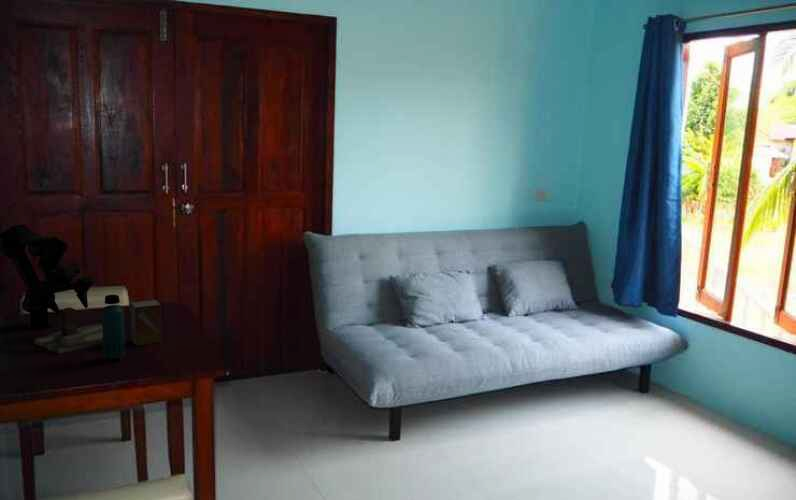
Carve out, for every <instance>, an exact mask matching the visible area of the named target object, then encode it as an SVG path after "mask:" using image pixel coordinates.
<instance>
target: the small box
mask: <svg viewBox="0 0 796 500" xmlns="http://www.w3.org/2000/svg"><path fill="white" fill-rule="evenodd" d="M161 308H162V307H161V304H160V303H159V302H158V300H156V299H154V300H143V301H135V302H130V327H131V328H130V331H131V334H130V335H131V341H132V343H133V344H134V345H135V346H137V347H138V346H145V345H153V344H162V321H161V320H162V319H161V315H162V314H161V312H162V310H161Z"/></svg>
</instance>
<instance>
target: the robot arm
mask: <svg viewBox="0 0 796 500" xmlns="http://www.w3.org/2000/svg"><path fill="white" fill-rule="evenodd" d="M26 247H27V251H28V253H29V255H31V257H33V258H37V257H40V258H39V259H38V261H37V269H40V270H41V271H42V274H43V275H44V280H40V278H39V275H38V274H37V272H36V270H35V268H34V266H33V263H32V262H31V260H30V258H29V256H28V254H27V253H26ZM0 252H1V253H2V255H4V256H5V257H7V258H10V259H11V261H12V263H13V265H14V267H15V269H16V271H17V273H18V275H19V276H20V278H21V280H22V283H23V284H24V286H25V288H26V290H25V293H24V298H23V300H22V302H21V308H22V310H23V311H25V312H26V313H28V316H29V317H28V318H29V323H28V324H25V327H26V328H29V329H32V330H37V331H38V330H40V329H44V328H45V329H47V328H49V327H54V324H53V323H51V322H49V321H50V320H49V309H50V310H51V311H52V312H54V313H55V314H57V315H60V307H59V306H58V304H57V302H56V293H57V294H58V293H63V292H67V291H72V290H74V293H76V297H77V298H78V300H79V302H80V304H82V307H84V308H85V309H88V307H89V303H88V302H89V301H88V291H89V290H90V288H91V287H92V285H93V284H94V280H93V279H92V277H91V276H83V277H79V278H77V280H76V282H73V283H71V282H72V281H73V280H74V279H73V278H74V277H77V276H78V275H79V274H80V273H81V267H80V266H79V264H78V263H73V264H71V265H70V266H67V267H63V266H62V264H61V263H60V262H62V261H63V259H64V257H65V255H66V253H67V252H68V244H67V243H66V242H65V241H64V240H62V239H60V238H58V237H57V236H50V237H49V236H45V235H43V236H41V235H39V234H37V233H35V232H34V231H32V230H31V229H29V227H28V226H27V224H26V225H24V224H19V225H17V224H16V225H12V226H9V228H8V229H7V230H5V231H4V232H2V233H0Z"/></svg>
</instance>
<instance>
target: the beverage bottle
mask: <svg viewBox="0 0 796 500" xmlns="http://www.w3.org/2000/svg"><path fill="white" fill-rule="evenodd" d="M119 296H120V295H117V294H108V295H105V296H104V304H105V305H106V304H107V305H106V306H104V307H103V308H102V309H101V311H100V312H101V323H102V324H101V325H102V329H103V337H102V338H103V341H102V342H103V343H101V344H102V345H101V346H102V352H103V357H104V358H106V359H118V358H122V357H125V355H126V352H127V351H126V350H127V349H126V342H127V341H126V333H125V330H126V329H125V324H126V323H125V312H124V308H123V307H122V306H120V305H119V303H120V300H121V299H120V297H119ZM117 304H118V305H117Z"/></svg>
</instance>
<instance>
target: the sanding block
mask: <svg viewBox="0 0 796 500" xmlns="http://www.w3.org/2000/svg"><path fill="white" fill-rule="evenodd" d="M59 310H60V314H59V316H60V317H59V318H60V320H59V321H60V331H58V332H54V333H52V334H53V341H54V342H55V343H57V344H60V345H62V346H65V347H71V346H75V345H79V344H83V343H86V342H85V334H83V333H80V332H78V331H76V329H77V318H76V309H75V308H73V307H66V308H59Z"/></svg>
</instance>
